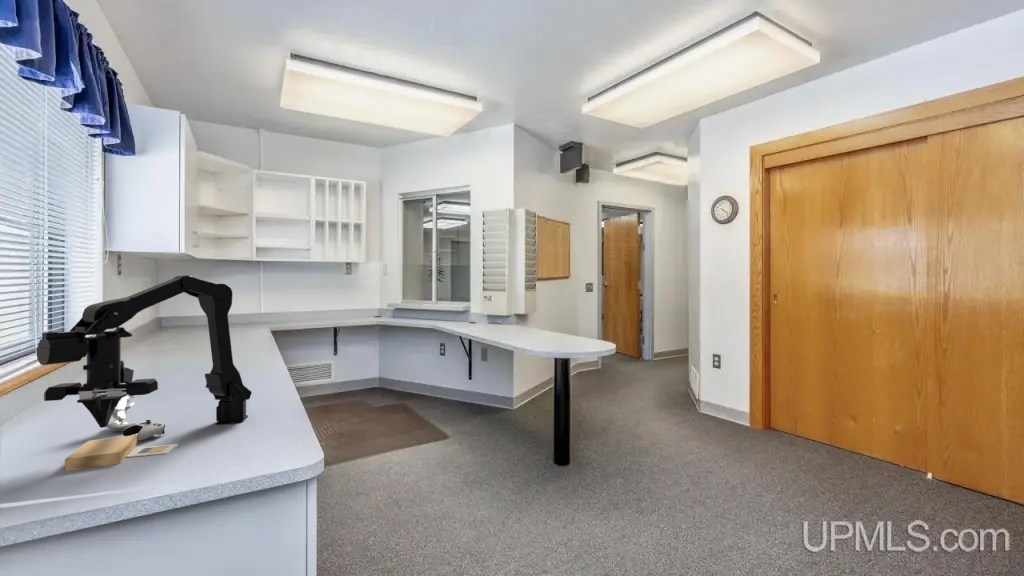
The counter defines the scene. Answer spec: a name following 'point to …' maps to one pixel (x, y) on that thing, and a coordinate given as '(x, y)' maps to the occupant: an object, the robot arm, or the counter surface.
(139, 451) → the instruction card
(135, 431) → the game controller
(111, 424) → the figurine
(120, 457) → the base brick
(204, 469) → the counter surface
